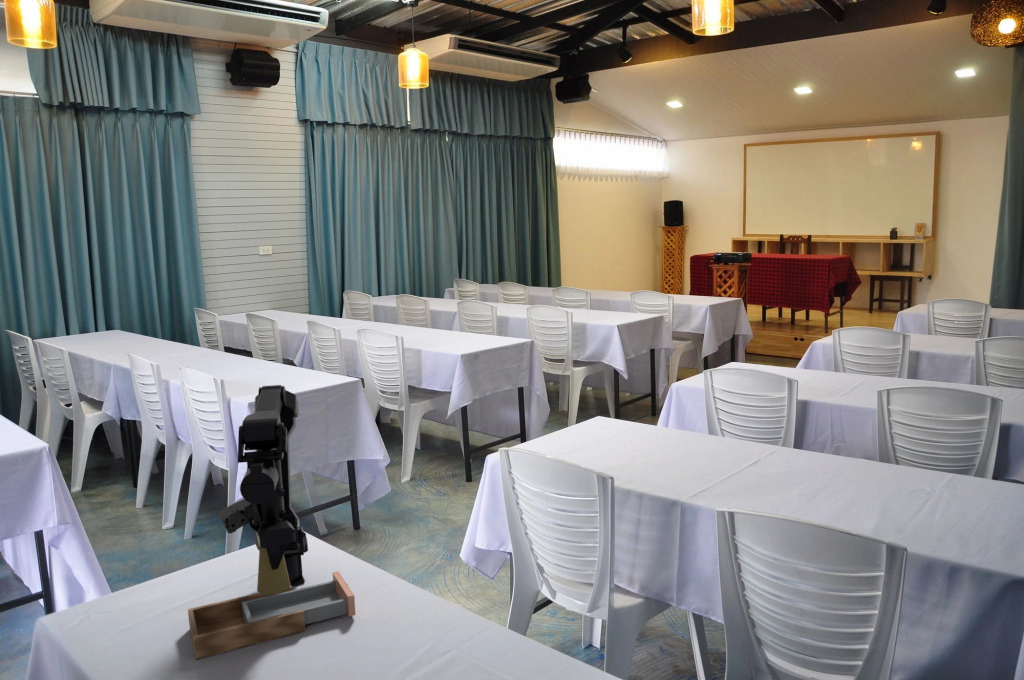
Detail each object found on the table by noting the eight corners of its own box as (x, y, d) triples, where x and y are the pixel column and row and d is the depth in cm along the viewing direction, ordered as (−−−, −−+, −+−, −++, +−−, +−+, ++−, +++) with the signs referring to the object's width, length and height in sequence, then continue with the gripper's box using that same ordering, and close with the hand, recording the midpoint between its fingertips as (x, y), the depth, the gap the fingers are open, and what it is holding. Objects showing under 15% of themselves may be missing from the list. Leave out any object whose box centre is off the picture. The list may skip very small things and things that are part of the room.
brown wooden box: (292, 604, 155) (291, 585, 155) (305, 631, 145) (303, 611, 144) (189, 629, 147) (187, 609, 146) (195, 659, 137) (193, 638, 136)
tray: (339, 589, 160) (338, 571, 159) (355, 614, 149) (354, 595, 148) (241, 613, 151) (240, 593, 150) (251, 641, 141) (249, 620, 140)
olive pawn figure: (250, 591, 146) (245, 536, 144) (271, 577, 151) (267, 523, 149) (276, 597, 144) (271, 540, 142) (297, 582, 149) (293, 527, 147)
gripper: (213, 477, 149) (221, 554, 151) (226, 509, 132) (234, 595, 135) (273, 467, 154) (279, 542, 156) (293, 497, 137) (299, 580, 140)
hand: (272, 564), depth 147 cm, fingers closed on olive pawn figure, 4 cm apart
